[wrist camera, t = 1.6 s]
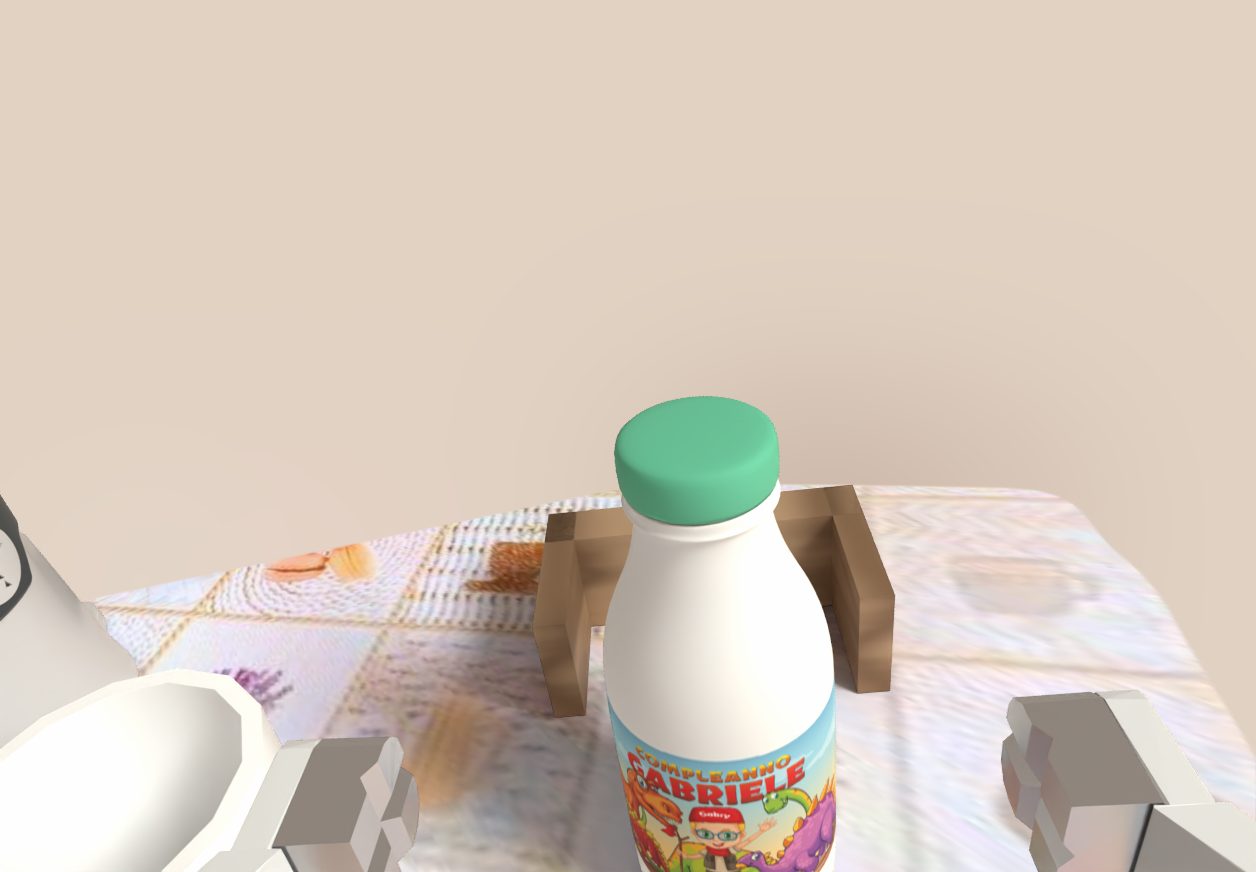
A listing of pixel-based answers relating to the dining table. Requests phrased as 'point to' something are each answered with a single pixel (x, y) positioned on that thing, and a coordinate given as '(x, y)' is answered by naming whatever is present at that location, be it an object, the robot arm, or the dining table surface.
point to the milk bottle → (717, 652)
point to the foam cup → (135, 777)
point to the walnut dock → (814, 533)
